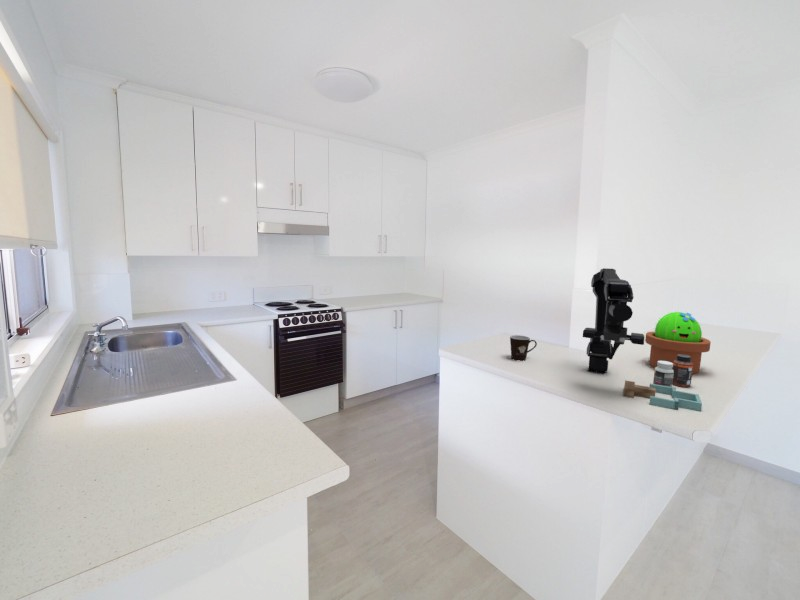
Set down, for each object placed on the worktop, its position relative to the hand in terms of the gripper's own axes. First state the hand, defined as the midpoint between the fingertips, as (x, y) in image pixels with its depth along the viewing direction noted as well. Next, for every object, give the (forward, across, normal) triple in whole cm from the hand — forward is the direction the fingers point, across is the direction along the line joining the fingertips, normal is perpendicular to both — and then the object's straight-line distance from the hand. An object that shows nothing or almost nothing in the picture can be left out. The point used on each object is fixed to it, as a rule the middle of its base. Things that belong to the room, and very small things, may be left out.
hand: (610, 359), depth 133 cm
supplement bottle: (+11, +22, +21) cm, 33 cm away
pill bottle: (+11, +16, +12) cm, 23 cm away
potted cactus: (+12, +22, +45) cm, 51 cm away
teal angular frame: (+11, +20, 0) cm, 22 cm away
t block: (+11, +10, 0) cm, 15 cm away
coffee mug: (+11, -36, +19) cm, 42 cm away
